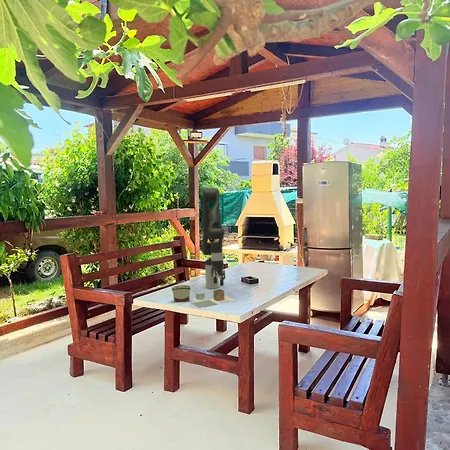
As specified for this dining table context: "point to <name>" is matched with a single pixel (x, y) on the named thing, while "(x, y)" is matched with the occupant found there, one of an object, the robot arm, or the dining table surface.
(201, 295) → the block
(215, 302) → the plaque
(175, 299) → the food container
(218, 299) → the block
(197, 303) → the mat
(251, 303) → the dining table surface
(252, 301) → the dining table surface
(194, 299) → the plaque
